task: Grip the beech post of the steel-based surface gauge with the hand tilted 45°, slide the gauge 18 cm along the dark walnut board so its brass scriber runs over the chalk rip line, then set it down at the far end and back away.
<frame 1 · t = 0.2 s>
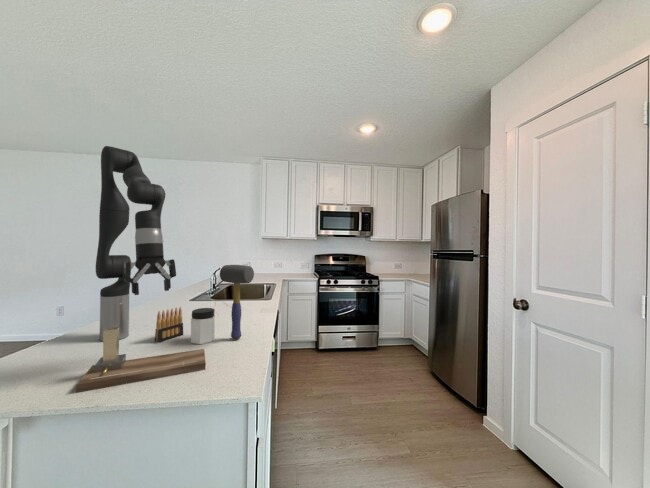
hand: (152, 292, 86), 22 cm above the counter, tool pointing down, fingers open, 8 cm apart
rubber mallet: (236, 339, 106), on the counter
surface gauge: (110, 366, 77), point 2 cm above the counter, touching walnut board
jar: (202, 340, 105), on the counter
walnut board: (149, 370, 79), on the counter
ammunition clip: (169, 339, 107), on the counter
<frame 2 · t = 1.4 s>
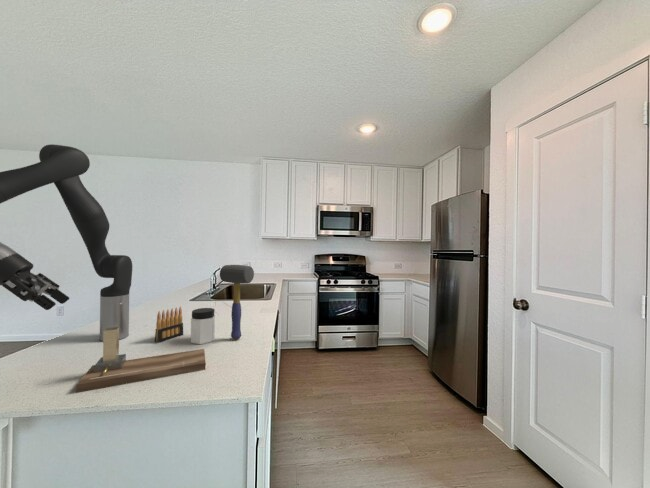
hand: (59, 304, 72), 21 cm above the counter, tool tilted 45°, fingers open, 8 cm apart
nothing on the counter moved.
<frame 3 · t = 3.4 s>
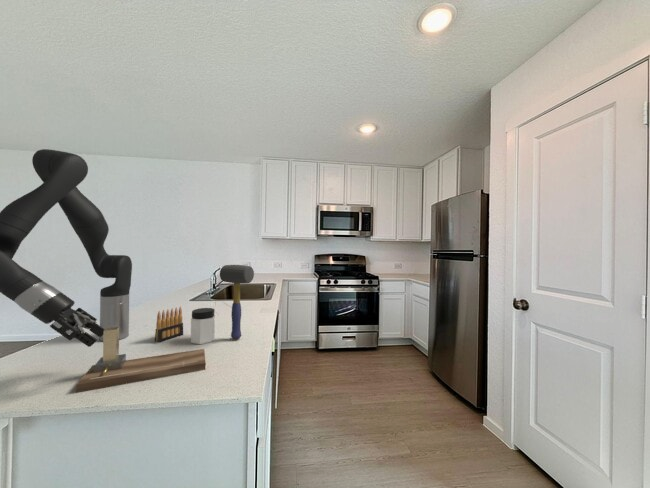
hand: (98, 338, 76), 10 cm above the counter, tool tilted 45°, fingers open, 8 cm apart
nothing on the counter moved.
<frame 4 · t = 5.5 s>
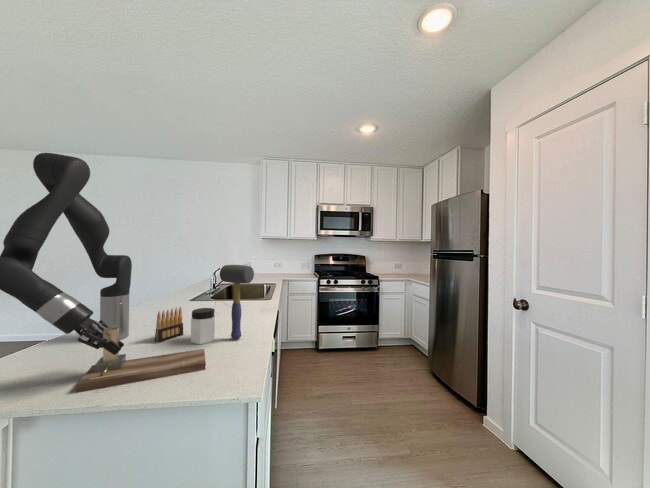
hand: (119, 349, 78), 7 cm above the counter, tool tilted 45°, fingers closed on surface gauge, 3 cm apart
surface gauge: (110, 366, 77), point 2 cm above the counter, touching gripper, walnut board
everything else where it was.
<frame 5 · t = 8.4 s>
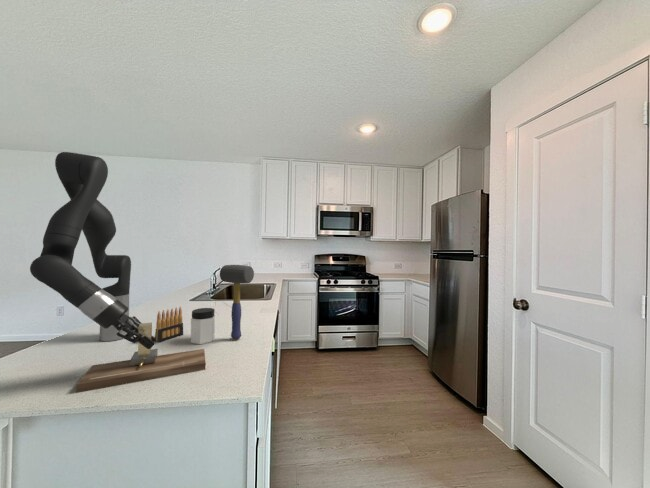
hand: (152, 344, 82), 7 cm above the counter, tool tilted 45°, fingers closed on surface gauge, 3 cm apart
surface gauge: (144, 360, 81), point 2 cm above the counter, touching gripper
everything else where it was.
when the fingers open (7 cm above the counter, at t = 11.6 s): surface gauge stays where it is, resting on walnut board.
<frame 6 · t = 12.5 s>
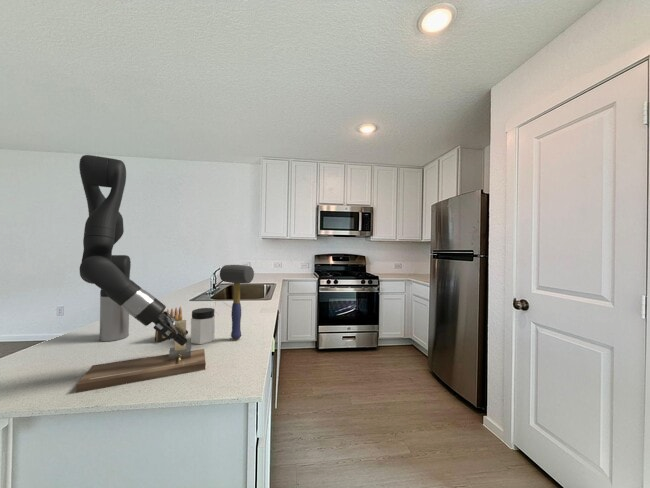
hand: (185, 338, 86), 7 cm above the counter, tool tilted 45°, fingers open, 8 cm apart
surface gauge: (180, 355, 85), point 2 cm above the counter, touching walnut board
everything else where it was.
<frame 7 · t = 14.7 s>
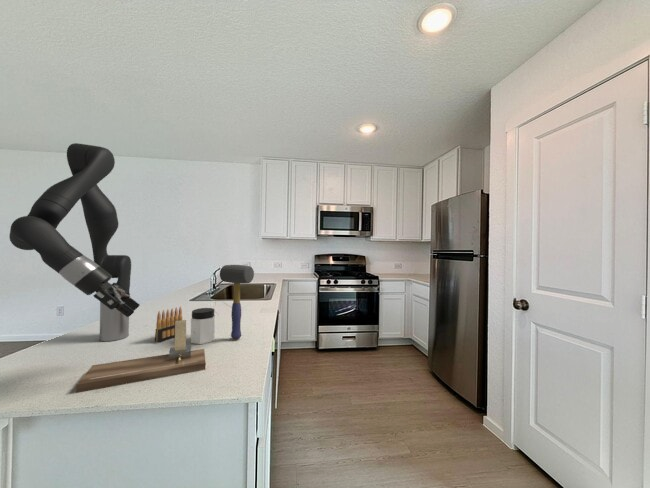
hand: (134, 311, 81), 17 cm above the counter, tool tilted 45°, fingers open, 8 cm apart
nothing on the counter moved.
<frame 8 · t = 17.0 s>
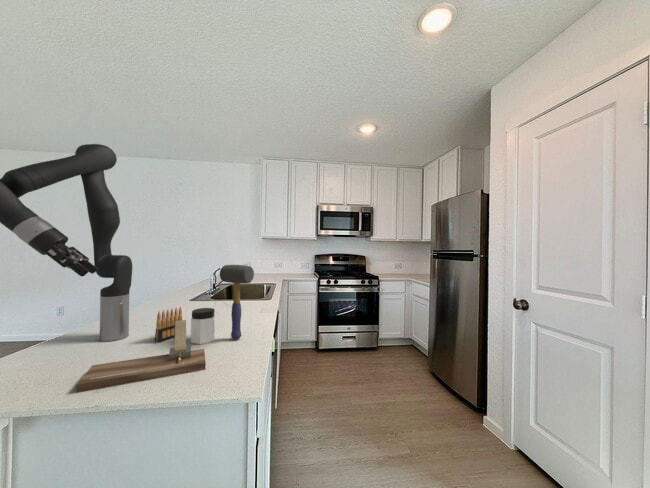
hand: (90, 272, 83), 29 cm above the counter, tool tilted 45°, fingers open, 8 cm apart
nothing on the counter moved.
at the end: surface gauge inside the target area (0.3 cm from its centre), point 2.0 cm above the counter; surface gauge tilted 0°; the gripper is holding nothing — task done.
